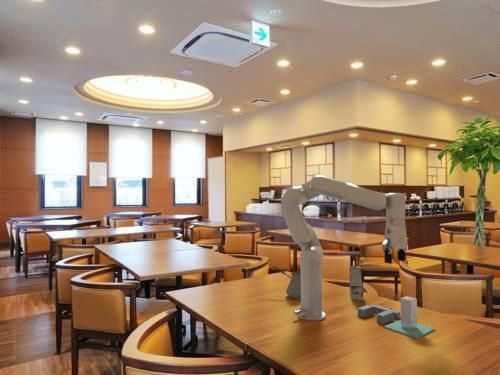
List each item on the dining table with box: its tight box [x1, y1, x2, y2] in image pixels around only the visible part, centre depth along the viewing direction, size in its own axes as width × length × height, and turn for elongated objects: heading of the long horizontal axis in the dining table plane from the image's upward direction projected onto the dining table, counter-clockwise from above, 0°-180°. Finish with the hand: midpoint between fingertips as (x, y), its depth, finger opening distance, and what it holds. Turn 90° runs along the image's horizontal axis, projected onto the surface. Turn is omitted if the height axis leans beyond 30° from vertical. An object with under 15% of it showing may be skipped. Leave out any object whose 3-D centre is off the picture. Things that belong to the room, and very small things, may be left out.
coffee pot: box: [271, 265, 301, 300], centre depth 194 cm, size 21×12×15 cm, turn 55°
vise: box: [357, 304, 401, 325], centre depth 162 cm, size 16×13×4 cm
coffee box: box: [349, 265, 364, 301], centre depth 190 cm, size 9×6×16 cm
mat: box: [383, 319, 436, 340], centre depth 147 cm, size 14×14×1 cm
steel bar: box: [400, 295, 418, 330], centre depth 147 cm, size 4×4×12 cm
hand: (394, 261), depth 152 cm, fingers open, 9 cm apart
